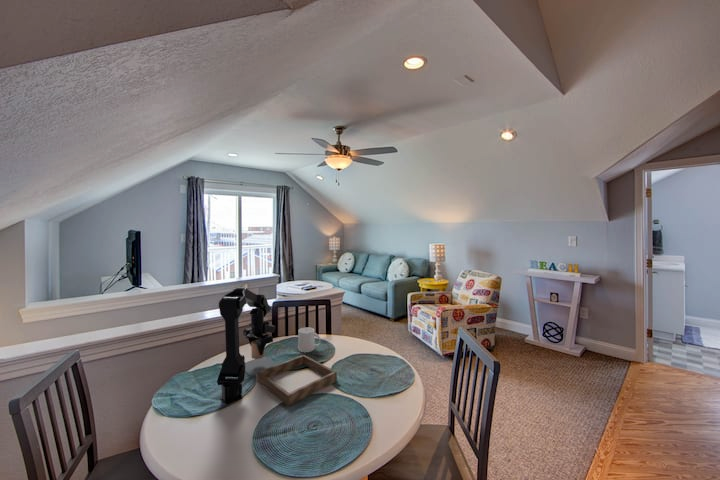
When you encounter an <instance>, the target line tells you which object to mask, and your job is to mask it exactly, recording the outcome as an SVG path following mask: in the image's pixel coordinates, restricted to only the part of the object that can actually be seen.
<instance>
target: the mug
mask: <svg viewBox="0 0 720 480" xmlns="http://www.w3.org/2000/svg"><path fill="white" fill-rule="evenodd" d="M297 332H298V333H297V334H298V335H297V336H298V337H297V339H298V345H297V346H298V347H297V348H298V351H299V352H300V353H303V352H304V353H305V354H306V352H307V353H311V352H313V351H314V350H315V348H318V347H319V346H320V345H321V336H320V335H319V334H318V333H316V332H315V328H313V327H309V326H308V327H301V328H299V329H298V331H297ZM316 338H318V339H319V342H318V344H317V343H315V339H316Z"/></svg>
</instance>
